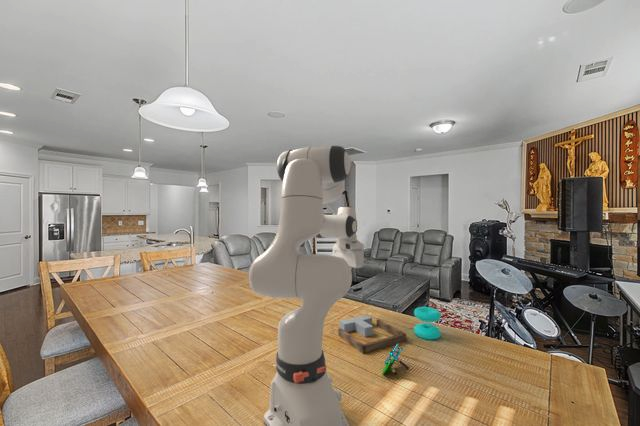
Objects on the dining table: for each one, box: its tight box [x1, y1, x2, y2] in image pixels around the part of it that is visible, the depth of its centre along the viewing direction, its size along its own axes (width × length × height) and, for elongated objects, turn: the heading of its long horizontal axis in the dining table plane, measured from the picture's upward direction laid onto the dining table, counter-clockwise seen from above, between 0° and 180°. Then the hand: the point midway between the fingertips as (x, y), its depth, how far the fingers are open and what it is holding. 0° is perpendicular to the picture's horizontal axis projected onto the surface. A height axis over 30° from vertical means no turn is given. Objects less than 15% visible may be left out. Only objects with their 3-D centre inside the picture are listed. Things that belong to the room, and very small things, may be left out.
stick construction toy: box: [381, 343, 410, 375], centre depth 87 cm, size 12×7×8 cm
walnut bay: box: [337, 318, 407, 354], centre depth 109 cm, size 16×20×2 cm
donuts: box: [413, 306, 442, 340], centre depth 111 cm, size 10×10×10 cm
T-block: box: [338, 314, 374, 338], centre depth 115 cm, size 11×14×4 cm
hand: (346, 274), depth 124 cm, fingers closed
